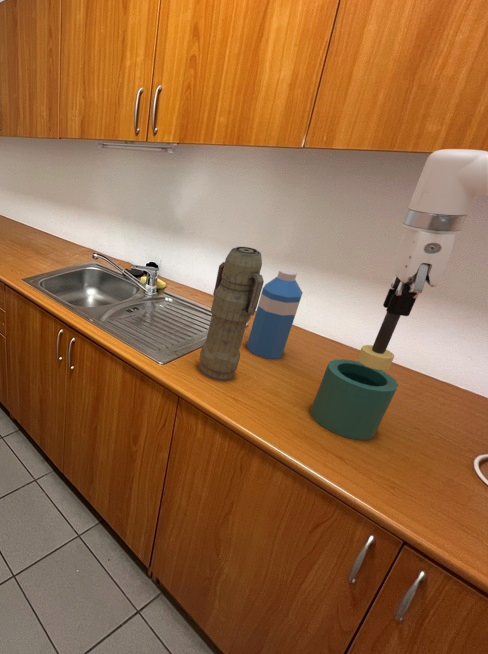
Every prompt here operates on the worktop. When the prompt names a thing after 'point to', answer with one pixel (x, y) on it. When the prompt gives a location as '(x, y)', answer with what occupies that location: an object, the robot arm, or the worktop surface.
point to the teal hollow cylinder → (353, 399)
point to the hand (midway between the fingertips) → (395, 310)
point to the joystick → (380, 345)
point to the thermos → (231, 312)
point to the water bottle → (275, 315)
